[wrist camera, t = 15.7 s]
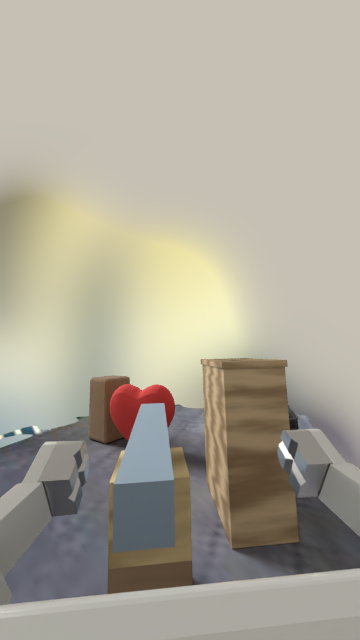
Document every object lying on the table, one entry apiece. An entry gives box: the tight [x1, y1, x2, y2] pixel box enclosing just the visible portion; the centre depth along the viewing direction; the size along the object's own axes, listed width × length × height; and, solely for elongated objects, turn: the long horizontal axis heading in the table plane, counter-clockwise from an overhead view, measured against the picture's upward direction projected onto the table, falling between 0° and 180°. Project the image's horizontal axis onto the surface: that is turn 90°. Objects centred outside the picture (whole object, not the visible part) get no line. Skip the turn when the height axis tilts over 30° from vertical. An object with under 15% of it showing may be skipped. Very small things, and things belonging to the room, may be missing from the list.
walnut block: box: [108, 560, 193, 594], centre depth 26 cm, size 8×8×8 cm
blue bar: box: [113, 403, 175, 553], centre depth 28 cm, size 26×4×4 cm, turn 5°
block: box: [89, 376, 130, 444], centre depth 82 cm, size 10×10×20 cm
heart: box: [110, 384, 175, 441], centre depth 69 cm, size 20×9×19 cm, turn 75°
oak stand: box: [201, 358, 299, 549], centre depth 45 cm, size 19×11×26 cm, turn 5°
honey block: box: [108, 447, 192, 569], centre depth 27 cm, size 8×8×8 cm
